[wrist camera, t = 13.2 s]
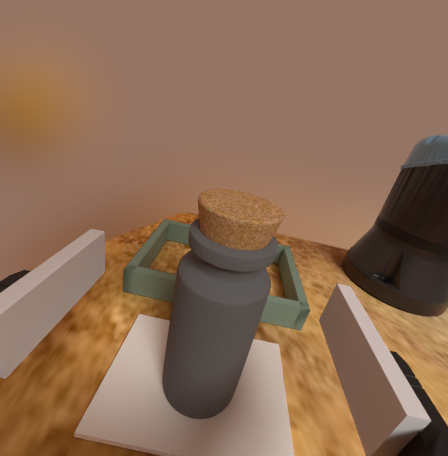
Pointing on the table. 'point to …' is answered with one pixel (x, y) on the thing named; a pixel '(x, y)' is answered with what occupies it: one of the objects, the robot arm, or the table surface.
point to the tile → (177, 423)
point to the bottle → (218, 300)
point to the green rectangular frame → (165, 282)
